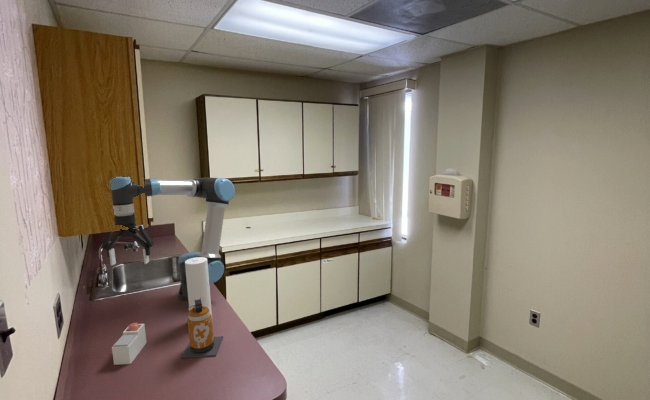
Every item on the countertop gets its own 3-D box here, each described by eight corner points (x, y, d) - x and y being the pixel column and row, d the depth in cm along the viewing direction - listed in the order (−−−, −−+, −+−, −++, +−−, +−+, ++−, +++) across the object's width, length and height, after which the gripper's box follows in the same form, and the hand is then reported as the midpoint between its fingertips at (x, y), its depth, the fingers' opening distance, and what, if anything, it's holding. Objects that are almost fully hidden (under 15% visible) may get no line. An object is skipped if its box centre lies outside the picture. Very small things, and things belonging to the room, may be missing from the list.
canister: (190, 356, 132) (186, 307, 129) (189, 341, 142) (185, 296, 139) (215, 350, 136) (211, 302, 132) (212, 336, 146) (208, 291, 142)
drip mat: (191, 339, 145) (191, 338, 145) (223, 337, 146) (223, 336, 146) (181, 358, 132) (181, 356, 132) (215, 356, 133) (215, 354, 133)
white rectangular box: (132, 343, 143) (129, 324, 142) (147, 342, 143) (144, 323, 142) (114, 364, 129) (111, 343, 128) (130, 363, 130) (128, 342, 128)
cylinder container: (205, 328, 154) (199, 263, 149) (186, 326, 156) (180, 262, 151) (216, 317, 163) (211, 256, 158) (198, 316, 165) (192, 255, 160)
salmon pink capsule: (133, 341, 142) (131, 322, 140) (142, 340, 142) (140, 322, 141) (128, 346, 138) (126, 327, 137) (138, 345, 138) (135, 327, 137)
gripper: (87, 217, 138) (94, 268, 141) (151, 215, 139) (156, 265, 143) (98, 213, 145) (104, 262, 149) (159, 211, 147) (164, 259, 150)
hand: (130, 263), depth 146 cm, fingers open, 13 cm apart
